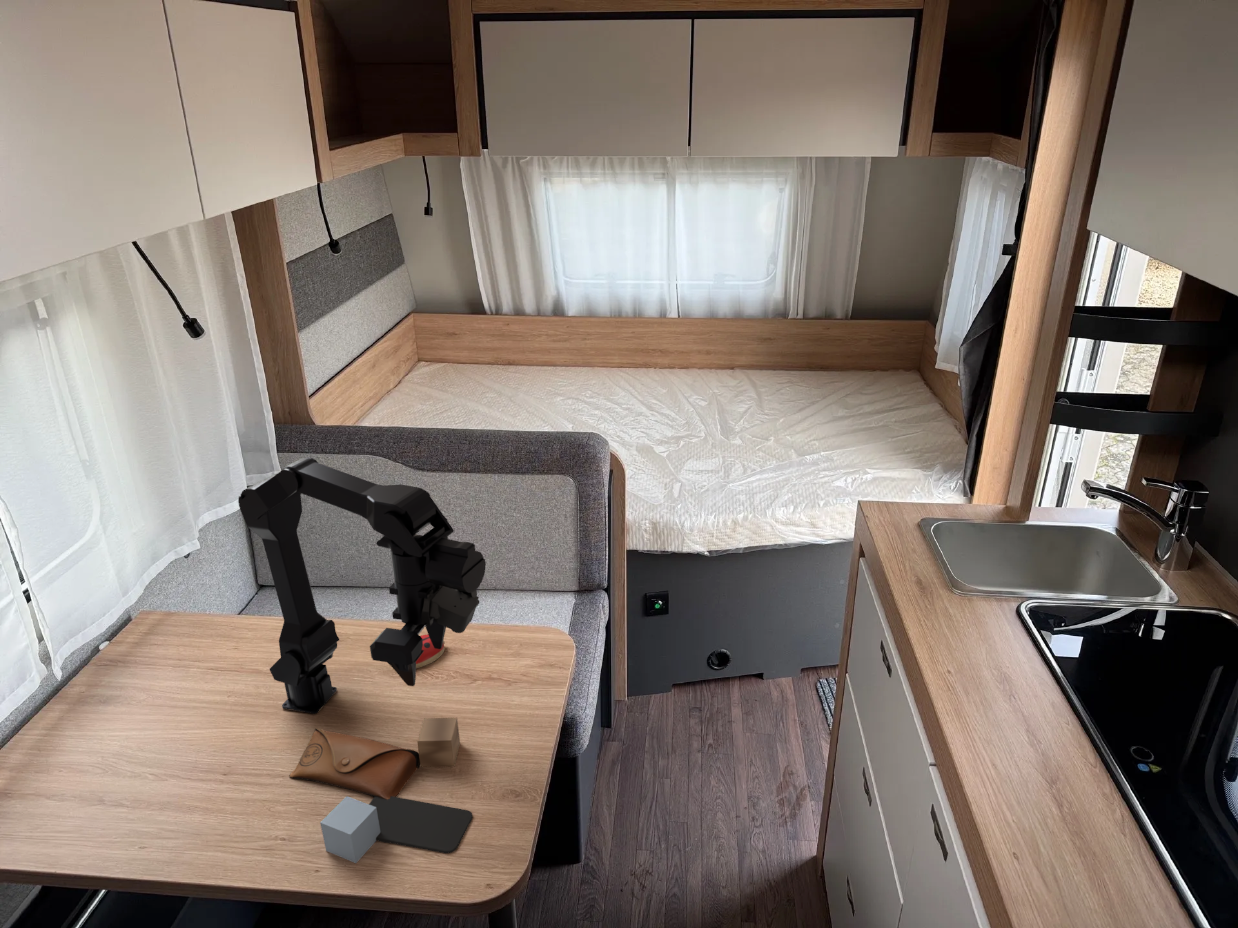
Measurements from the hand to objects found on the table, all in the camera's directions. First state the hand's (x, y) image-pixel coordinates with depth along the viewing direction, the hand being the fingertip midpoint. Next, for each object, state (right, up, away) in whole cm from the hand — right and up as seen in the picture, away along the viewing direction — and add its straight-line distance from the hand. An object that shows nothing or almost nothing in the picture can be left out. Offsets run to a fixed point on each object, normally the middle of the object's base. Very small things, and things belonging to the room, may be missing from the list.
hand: (425, 666), depth 126 cm
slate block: (-6, -20, -13) cm, 25 cm away
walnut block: (+2, -14, +2) cm, 14 cm away
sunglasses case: (-10, -16, -1) cm, 19 cm away
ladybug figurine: (-7, -5, +25) cm, 26 cm away
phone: (+1, -20, -10) cm, 22 cm away
